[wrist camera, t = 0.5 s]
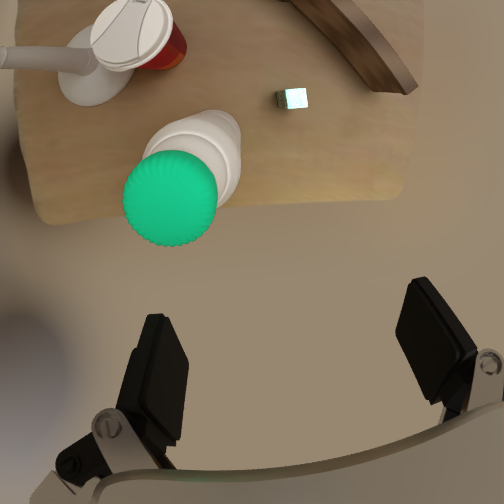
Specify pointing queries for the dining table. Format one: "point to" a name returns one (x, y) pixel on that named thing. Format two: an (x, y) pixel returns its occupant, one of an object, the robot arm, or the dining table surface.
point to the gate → (360, 44)
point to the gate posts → (291, 95)
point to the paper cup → (137, 36)
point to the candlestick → (70, 68)
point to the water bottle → (184, 178)
